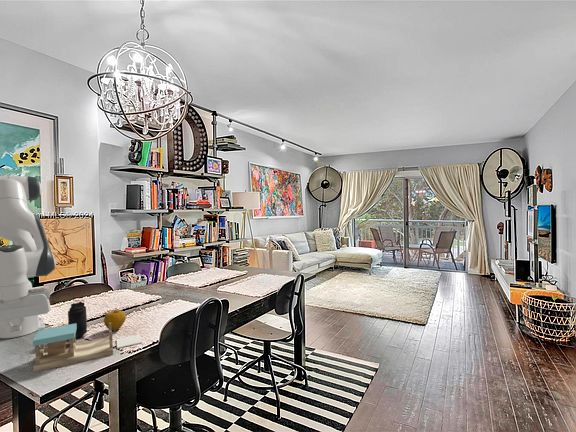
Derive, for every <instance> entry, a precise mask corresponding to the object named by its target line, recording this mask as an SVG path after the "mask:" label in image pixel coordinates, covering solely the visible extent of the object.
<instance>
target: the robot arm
mask: <svg viewBox="0 0 576 432" xmlns="http://www.w3.org/2000/svg"><path fill="white" fill-rule="evenodd" d="M42 192H43V186H42V183H41V182H40V180H39V178H37V177H35V176H34V177H33V176H24V175H23V176H22V175H11V174H10V175H0V238H1V239H3V240H6V241H10V242H13V243H14V244H9V245H8V244H7V245H3V246H0V339H12V338H17V337H18V338H19V337H23V336H27V335H29V334H31V333H32V334H33V333H35V332H38V330H42V329H46V325H45V321H44V319H43V317H40V316H39V315H46V314H48V313H49V312H50V311H51V303H50V299H51V298H50V297H51V291H50V290H49V289H47V288H45V287H40V288H33V283H32V282H31V281H30V280H29V279H28V278H32V277H47V276H48V275H50V274H51V273H52V272H54V270H55V269H56V263H57V262H56V257H55V255H54V254H53V252H52V250H51V247H50V244H49V242H48V238H47V235H46V232H45V230H44V226H43V223H42V222H41V219H40V217H39V216H38V215H37V214H36V213H33V212H32V211H31V210H30V209H29V205H28V201H29V204H31V203H32V202H33V201H36V200H38V199H39V198H40V197H41V195H42Z"/></svg>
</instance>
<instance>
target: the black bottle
mask: <svg viewBox="0 0 576 432" xmlns="http://www.w3.org/2000/svg"><path fill="white" fill-rule="evenodd" d="M87 319H88V318H87V306H85V302H82V301H79V302H76V303H71V304H70V308H69V309H68V311H67V321H68V322H67V323H68V324H67V325H70V324H75V323H76V324H77V329H76V339H79V338H82V336H83V335H86V333H88V326H87V325H88V323H87ZM83 337H84V336H83Z"/></svg>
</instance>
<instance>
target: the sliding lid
mask: <svg viewBox="0 0 576 432" xmlns="http://www.w3.org/2000/svg"><path fill="white" fill-rule="evenodd" d="M76 329H77V324H76V323H75V324H70V325H69V324H64V325H61V326H60V325H59V326H58V325H57V326H53V327H48V328H43V329H40V330H37V331H36V334H35V336H34V338H33V339H32V347H35V346H37V345H39V346H40V345H42V344H44V345H47V344H48V343H53V342H58V341H63V340H66V341H68V340H70V339H73V338H75V334H76Z"/></svg>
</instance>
